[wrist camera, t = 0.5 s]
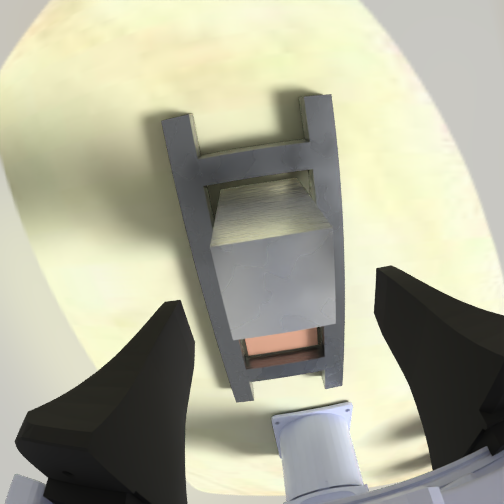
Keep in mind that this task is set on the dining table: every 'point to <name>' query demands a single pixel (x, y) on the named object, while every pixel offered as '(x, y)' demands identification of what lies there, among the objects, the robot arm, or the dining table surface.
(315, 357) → the rail
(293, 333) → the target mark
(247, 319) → the steel peg
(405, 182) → the dining table surface
